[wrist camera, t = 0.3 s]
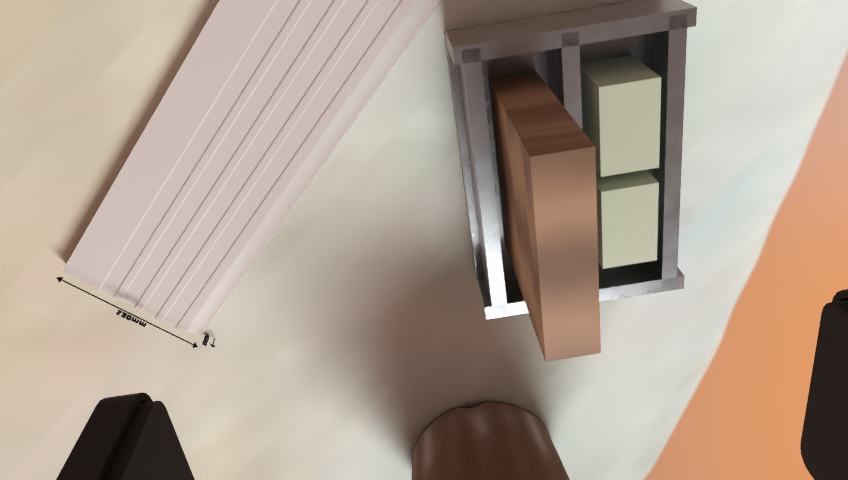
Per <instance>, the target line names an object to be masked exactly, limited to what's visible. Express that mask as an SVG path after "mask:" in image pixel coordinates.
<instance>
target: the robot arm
mask: <svg viewBox="0 0 848 480" xmlns="http://www.w3.org/2000/svg"><path fill="white" fill-rule="evenodd" d="M801 455H802V458H803V461H804V463H805V466H806V468H807V469H808V471H809V473H810V474H811V476H812V477H813V478H814V480H848V289H847V290H842V291H839V292H837V293H836V295H835V296H834V297H833V301H832V302H831V303H828V304H826V305H825V306H824V308H823V311H822V315H821V321H820V327H819V333H818V339H817V346H816V352H815V358H814V364H813V370H812V377H811V383H810V390H809V395H808V401H807V408H806V414H805V420H804V426H803V432H802V438H801ZM56 480H194V477H193V475H192V472H191V470H190V467H189V465H188V462H187V460H186V457H185V455H184V452H183V450H182V447H181V445H180V442H179V440H178V437H177V435H176V432H175V430H174V427H173V425H172V422H171V420H170V417H169V415H168V412H167V410H166V407H165V406H164V404H163V403H162V402H161V401H154V402H153V401H152V399H151V398H150V396H149V395H147V394H146V393H137V394H130V395H123V396H116V397H109V398H104V399H102V400H100V402H99V403H98V404H97V405H96V407H95V409H94V411H93V413H92V415H91V416H90V418H89V420H88V422H87V424H86V426H85V428H84V429H83V431H82V433H81V435H80V437H79V439H78V440H77V442H76V444H75V446H74V448H73V450H72V452H71V453H70V455H69V457H68V459H67V461H66V463H65V464H64V466H63V468H62V470H61V472H60V474H59V476H58V477H57V479H56Z"/></svg>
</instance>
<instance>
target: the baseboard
mask: <svg viewBox="0 0 848 480" xmlns="http://www.w3.org/2000/svg"><path fill="white" fill-rule="evenodd" d="M440 1H441V0H219V2H218V3H217V5H216V7H215V8H214V10H213V12H212V14H211V15H210V17H209V19H208V20H207V22H206V24H205V26H204V27H203V29H202V31H201V33H200V34H199V36H198V38H197V39H196V41H195V43H194V45H193V46H192V48H191V50H190V51H189V53H188V55H187V57H186V58H185V60H184V62H183V64H182V65H181V67H180V69H179V70H178V72H177V74H176V76H175V77H174V79H173V81H172V83H171V84H170V86H169V88H168V89H167V91H166V93H165V95H164V96H163V98H162V100H161V101H160V103H159V105H158V107H157V108H156V110H155V112H154V114H153V115H152V117H151V119H150V120H149V122H148V124H147V126H146V127H145V129H144V131H143V132H142V134H141V136H140V138H139V139H138V141H137V143H136V145H135V146H134V148H133V150H132V151H131V153H130V155H129V157H128V158H127V160H126V162H125V164H124V165H123V167H122V169H121V170H120V172H119V174H118V176H117V177H116V179H115V181H114V182H113V184H112V186H111V188H110V189H109V191H108V193H107V195H106V196H105V198H104V200H103V201H102V203H101V205H100V207H99V208H98V210H97V212H96V213H95V215H94V217H93V219H92V220H91V222H90V224H89V226H88V227H87V229H86V231H85V232H84V234H83V236H82V238H81V239H80V241H79V243H78V245H77V246H76V248H75V250H74V251H73V253H72V255H71V257H70V258H69V260H68V262H67V263H66V265H65V267H64V269H63V270H62V272H63V273H65V274H67V275H69V276H71V277H73V278H76V279H78V280H80V281H82V282H84V283H86V284H88V285H90V286H92V287H94V288H96V289H98V290H102V291H104V292H106V293H108V294H110V295H112V296H113V297H114V298H116V299H118V300H122V301H124V302H126V303H128V304H130V305H132V306H134V307H135V308H136V309H138V310H140V311H144V312H146V313H148V314H150V315H152V316H154V317H155V318H156V319H158V320H160V321H164V322H166V323H168V324H170V325H172V326H174V327H175V328H176V329H178V330H180V331H182V332H195V333H198V334H200V335H202V334H203V333H204V331H205V330H206V329H207V327H208V326H209V324H210V323H211V322H212V320H213V319H214V317H215V316H216V315H217V313H218V312H219V310H220V309H221V308H222V306H223V305H224V303H225V302H226V301H227V299H228V298H229V296H230V295H231V294H232V292H233V291H234V289H235V288H236V287H237V285H238V284H239V282H240V281H241V280H242V278H243V277H244V275H245V274H246V273H247V271H248V270H249V268H250V267H251V266H252V264H253V263H254V261H255V260H256V259H257V257H258V256H259V254H260V253H261V252H262V250H263V249H264V247H265V246H266V245H267V243H268V242H269V240H270V239H271V238H272V236H273V235H274V233H275V232H276V231H277V229H278V228H279V226H280V225H281V224H282V222H283V221H284V219H285V218H286V217H287V215H288V214H289V212H290V211H291V210H292V208H293V207H294V205H295V204H296V203H297V201H298V200H299V198H300V197H301V196H302V194H303V193H304V191H305V190H306V189H307V187H308V186H309V184H310V183H311V182H312V180H313V179H314V177H315V176H316V174H317V173H318V172H319V170H320V169H321V167H322V166H323V165H324V163H325V162H326V160H327V159H328V158H329V156H330V155H331V153H332V152H333V151H334V149H335V148H336V146H337V145H338V144H339V142H340V141H341V139H342V138H343V137H344V135H345V134H346V132H347V131H348V130H349V128H350V127H351V125H352V124H353V123H354V121H355V120H356V118H357V117H358V116H359V114H360V113H361V111H362V110H363V109H364V107H365V106H366V104H367V103H368V102H369V100H370V99H371V97H372V96H373V95H374V93H375V92H376V90H377V89H378V88H379V86H380V85H381V83H382V82H383V81H384V79H385V78H386V76H387V75H388V74H389V72H390V71H391V69H392V68H393V67H394V65H395V64H396V62H397V61H398V60H399V58H400V57H401V55H402V54H403V53H404V51H405V50H406V48H407V47H408V46H409V44H410V43H411V41H412V40H413V39H414V37H415V36H416V34H417V33H418V32H419V30H420V29H421V27H422V26H423V25H424V23H425V22H426V20H427V19H428V18H429V16H430V15H431V13H432V12H433V11H434V9H435V8H436V6H437V5H438V4H439V2H440ZM62 278H63V277H57V279H58V281H59V282H60V281H61V280H62ZM62 281H64V280H62ZM64 282H66V281H64ZM66 283H68V282H66ZM68 284H70V283H68ZM70 285H72V284H70ZM72 286H74V285H72ZM74 287H76V286H74ZM76 288H78V287H76ZM78 289H80V288H78ZM80 290H82V289H80ZM82 291H84V290H82ZM84 292H86V291H84ZM86 293H88V292H86ZM88 294H90V293H88ZM90 295H92V294H90ZM92 296H94V295H92ZM94 297H96V296H94ZM96 298H98V297H96ZM98 299H100V298H98ZM100 300H102V299H100ZM102 301H104V300H102ZM104 302H106V301H104ZM106 303H108V304H110V305H112V306H114V307H116V308H119V307H117V306H115V305H113V304H111V303H109V302H106ZM119 309H121V308H119ZM121 310H123V309H121ZM123 311H125V310H123ZM125 312H127V311H125ZM120 313H122V311H120V310H118V312H117V313H116V314H117V315H119V314H120ZM127 313H129V312H127ZM122 314H123V315H124V316H123V315H121V317H123V318H125V317H126V316H127V317H126V319H127V320H130V319H131V318H132V317H131V316H130V315H127V314H126V313H124V312H123V313H122ZM129 314H131V313H129ZM131 315H133V314H131ZM133 316H135V315H133ZM128 317H130V318H128ZM135 317H137V316H135ZM137 318H139V317H137ZM139 319H141V318H139ZM141 320H143V319H141ZM131 321H133V322H136V323H138V322H139V320H137V321H136V318H135V320H134V317H133V318H132V320H131ZM143 321H145V320H143ZM145 322H147V321H145ZM147 323H149V322H147ZM147 323H145V324H144V322H142V324H141V321H140V322H139V324H140V325H142V326H144V327H145V326H146V324H147ZM149 324H151V323H149ZM151 325H153V324H151ZM153 326H155V325H153ZM155 327H157V326H155ZM157 328H159V327H157ZM159 329H161V328H159ZM161 330H163V329H161ZM163 331H165V330H163ZM165 332H167V331H165ZM167 333H169V332H167ZM169 334H171V333H169ZM171 335H173V336H175V337H177V338H180V337H178V336H176V335H174V334H171ZM204 335H205V334H204ZM180 339H182V338H180ZM206 339H207V340H206ZM208 339H209V336H208V335H206V336H205V337H204V340H203V343H202V344H203V345H205V346H206V345H207V342H208ZM182 340H184V339H182ZM184 341H186V340H184ZM214 341H215V339H214ZM186 342H188V341H186ZM205 342H206V343H205ZM188 343H190V342H188ZM190 344H192V343H190ZM213 344H214V342H213ZM192 345H193V348H194V347H198V346H197V345H196V343H195V342H194V344H192ZM210 345H211V346H212V347H215V346H214V345H212V344H210Z"/></svg>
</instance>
